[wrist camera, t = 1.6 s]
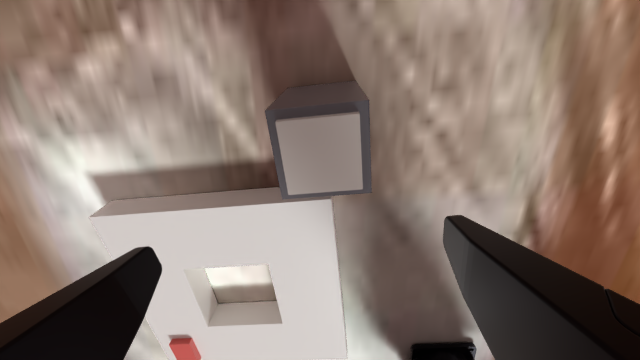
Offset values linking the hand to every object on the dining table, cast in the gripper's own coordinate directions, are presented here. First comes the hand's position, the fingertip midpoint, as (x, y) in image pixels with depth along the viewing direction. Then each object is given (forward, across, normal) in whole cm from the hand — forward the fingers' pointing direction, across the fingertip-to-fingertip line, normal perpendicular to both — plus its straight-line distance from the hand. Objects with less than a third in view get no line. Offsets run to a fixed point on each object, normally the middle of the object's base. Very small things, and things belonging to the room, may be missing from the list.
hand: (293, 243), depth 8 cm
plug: (+12, -1, -1) cm, 12 cm away
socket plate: (+12, +9, +13) cm, 20 cm away
